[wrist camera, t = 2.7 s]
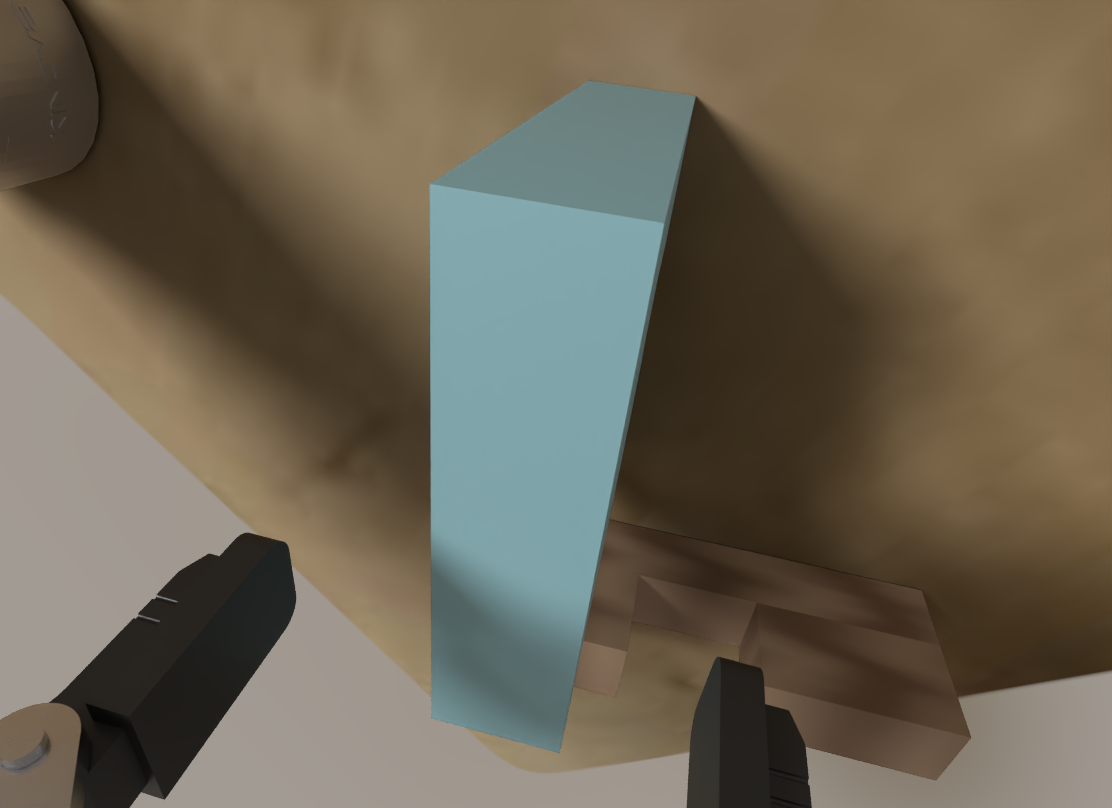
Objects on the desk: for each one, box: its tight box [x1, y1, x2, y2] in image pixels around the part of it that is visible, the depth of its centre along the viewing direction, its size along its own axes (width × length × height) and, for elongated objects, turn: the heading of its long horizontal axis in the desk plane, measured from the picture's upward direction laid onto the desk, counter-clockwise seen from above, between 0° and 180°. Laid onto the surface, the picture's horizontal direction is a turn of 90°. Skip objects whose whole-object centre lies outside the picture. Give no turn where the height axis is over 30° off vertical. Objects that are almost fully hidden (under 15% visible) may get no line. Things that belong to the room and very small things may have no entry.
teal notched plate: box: [430, 81, 696, 753], centre depth 19 cm, size 14×4×14 cm, turn 173°
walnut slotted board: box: [574, 520, 971, 780], centre depth 28 cm, size 20×3×7 cm, turn 83°
